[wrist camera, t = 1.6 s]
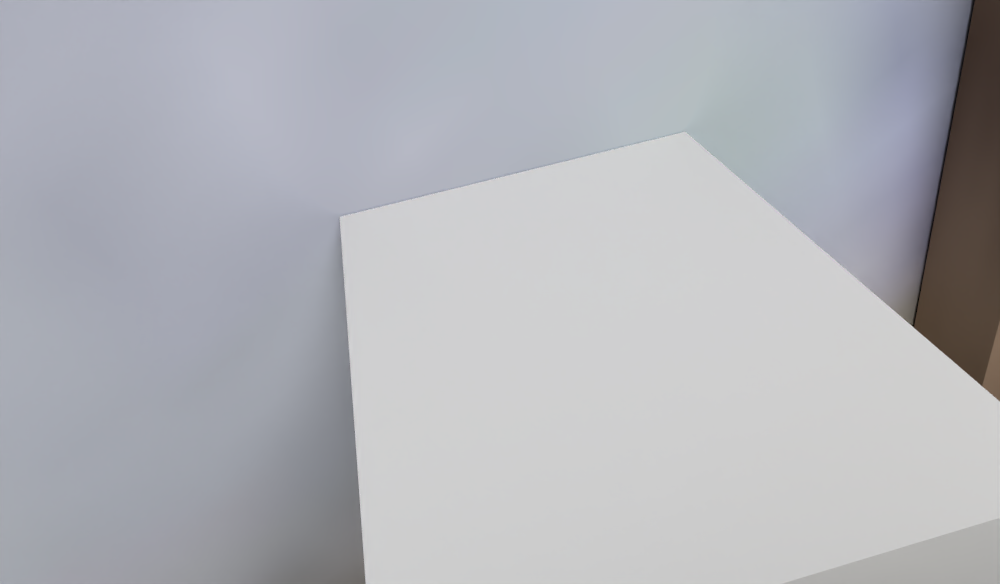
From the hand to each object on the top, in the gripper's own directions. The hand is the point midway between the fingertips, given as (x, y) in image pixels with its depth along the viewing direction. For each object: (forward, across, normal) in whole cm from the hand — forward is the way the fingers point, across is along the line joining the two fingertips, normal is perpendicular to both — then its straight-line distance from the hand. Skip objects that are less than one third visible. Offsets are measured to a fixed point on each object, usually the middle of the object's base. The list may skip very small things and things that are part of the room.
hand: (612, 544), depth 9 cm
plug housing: (+3, 0, 0) cm, 3 cm away
